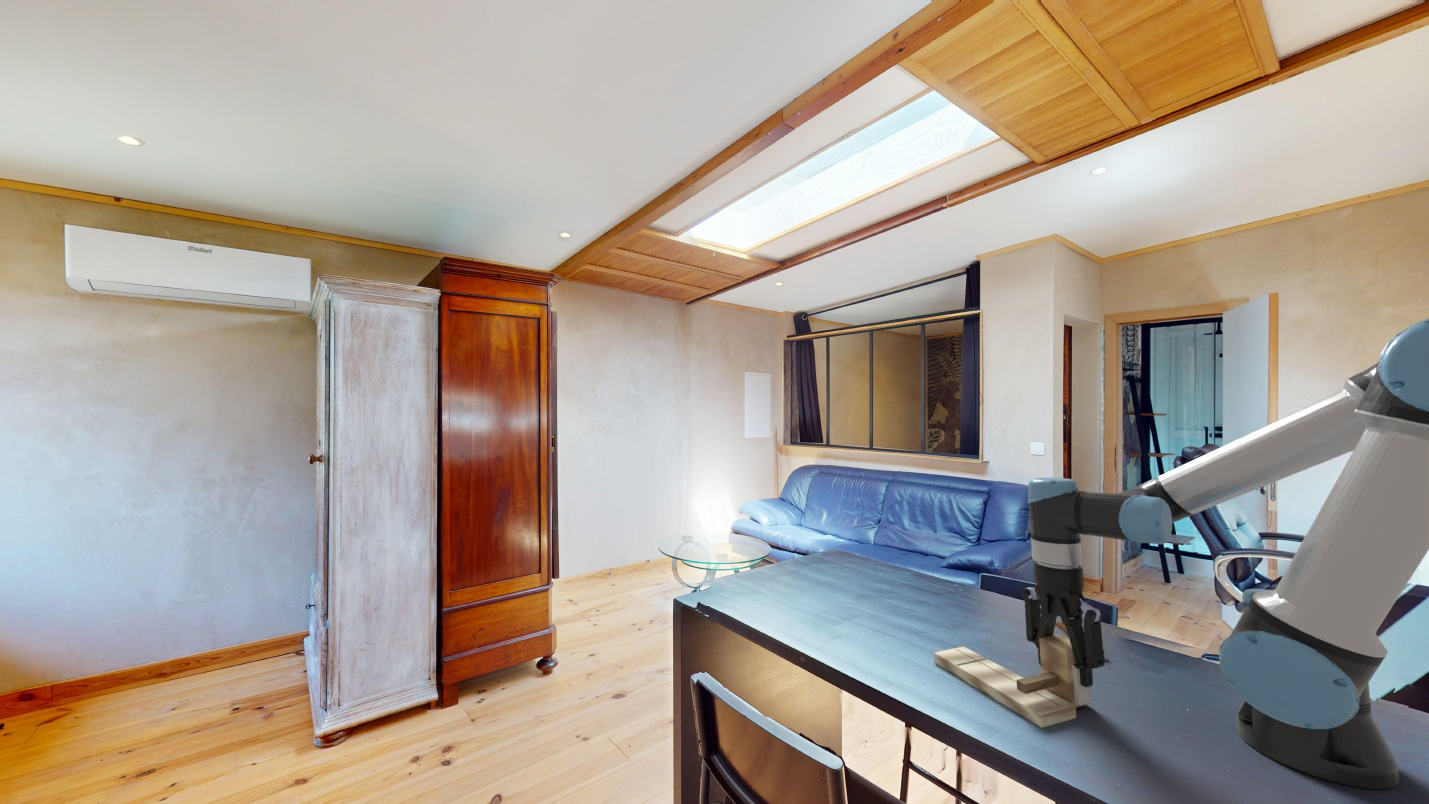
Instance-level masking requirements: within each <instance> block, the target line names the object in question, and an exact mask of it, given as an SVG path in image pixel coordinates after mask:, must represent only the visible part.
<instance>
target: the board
mask: <svg viewBox="0 0 1429 804" xmlns="http://www.w3.org/2000/svg"><path fill="white" fill-rule="evenodd" d="M933 656H934V658H933V660H934V661H933V662H934V663H935V664H937V665H939V666H940V667H942V669H945V670H946V671H947V672H950V673H951V674H953V675H954V676H956V677H958V678H960V679H962V680H963V681H964V682H966V683H968V684H969V685H971V686H972V687H973V688H976V689H977V690H979V691H980V692H982V693H983V694H985V695H987V696H989V697H990V698H992V699H994V700H996V701H997V702H998V703H1000V704H1002V705H1004V706H1005V707H1007V708H1008V709H1010V710H1012V711H1013V712H1015V713H1016V714H1018V715H1020V716H1021V717H1023V718H1025V719H1026V720H1027V721H1030V722H1031V723H1033V724H1035V725H1036V726H1038V727H1039V728H1041V729H1042V728H1046V727H1050V726H1054V725H1057V724H1059V723H1060V724H1061V723H1063V722H1067V721H1071V720H1074V719H1077V707H1076V706H1075V705H1073V704H1071V703H1070V702H1068V701H1066V700H1064V699H1062V698H1060V697H1058V696H1056V695H1055V694H1053V693H1051V692H1049V691H1047V690H1045V689H1043V690H1039V691H1035V692H1031V693H1028V694H1025V693H1023V692H1021V691H1019V690H1017V680H1018V679H1023V678H1024V677H1023V676H1020V675H1019V674H1016V673H1015V672H1013V671H1011V670H1009V669H1008V668H1005V667H1004V666H1001V665H999V664H998V663H996V662H994V661H992V660H990V659H988V658H986V657H984V656H983V655H981V654H979V653H977V652H975V651H973V650H971V649H970V648H968V647H966V646H959V647H954V648H949V649H945V650H940V651H935V652H933Z"/></svg>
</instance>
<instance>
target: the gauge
mask: <svg viewBox="0 0 1429 804" xmlns="http://www.w3.org/2000/svg"><path fill="white" fill-rule="evenodd" d="M1039 642H1040V657H1041V666H1040V668H1041V673H1040V674H1037V675H1031V676H1027V677H1022V678H1023V679H1018V680H1017V690H1019V691H1021V692H1023V693H1025V694H1028V693H1031V692H1035V691H1039V690H1043V689H1045V690H1047V691H1049V692H1051V693H1053V694H1055V695H1056V696H1058V697H1060V698H1062V699H1064V700H1066V701H1068V702H1070V703H1071V704H1073V705H1075V706H1076V708H1079V707H1083V706H1087V705H1091V704H1092V701H1091V696H1090V703H1087V704H1083V705H1080V706H1079V705H1077V704H1075V698H1074V684H1073V670H1072V665H1074V664H1077V663H1076V659H1075V656H1074V653H1073V649H1072V646H1071V643H1070V639H1069V637H1066V636H1064V635H1062V634H1059V633H1058V634H1055V635H1054V634H1053V636H1049V637H1044V638H1039ZM1089 691H1090V692H1091V686H1090V687H1089Z"/></svg>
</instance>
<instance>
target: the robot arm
mask: <svg viewBox="0 0 1429 804" xmlns="http://www.w3.org/2000/svg"><path fill="white" fill-rule="evenodd" d="M1351 452H1352V453H1351ZM1348 453H1351V454H1350V456H1349V459H1348V460H1347V462H1346V464H1345V466H1343V469H1342V471H1341V472H1340V474H1339V476H1338V477H1337V480H1336V481H1335V483H1334V485H1333V487H1332V489H1331V490H1330V492H1329V494H1328V496H1327V497H1326V499H1325V501H1324V503H1323V504H1322V506H1321V508H1320V510H1319V511H1318V513H1317V515H1316V517H1315V518H1314V520H1313V522H1312V524H1311V526H1310V527H1309V529H1308V531H1307V533H1306V535H1305V536H1304V538H1303V540H1302V542H1301V543H1300V545H1299V547H1298V549H1297V550H1296V551H1295V554H1294V556H1293V557H1292V559H1291V561H1290V562H1289V565H1288V566H1287V568H1286V570H1285V572H1284V574H1283V575H1282V577H1281V579H1280V580H1279V582H1278V584H1277V586H1276V587H1275V588H1274V589H1273V590H1272V589H1263V588H1262V589H1261V588H1249V589H1245V590H1244V591H1243V592H1242V596H1241V601H1240V605H1241V607H1242V611H1243V612H1242V614H1241V616H1240V617H1239V619H1238V621H1237V623H1236V625H1235V626H1234V628H1233V629H1232V632H1231V634H1230V635H1228V637H1226V638H1225V639H1224V640H1223V641H1222V643H1221V644H1220V646H1219V651H1218V653H1219V656H1218V661H1219V666H1220V670H1221V673H1222V675H1223V678H1225V680H1226V682H1227V683H1228V685H1229V686H1230V687H1231V689H1233V691H1234V692H1235V693H1236V694H1237V695H1238V696H1239V697H1240V698H1241V699H1242V700H1241V703H1240V706H1239V709H1238V711H1237V714H1236V727H1237V733H1238V734H1239V736H1240V737H1241V738H1242V739H1243V741H1244V742H1245V743H1247V744H1248V745H1250V746H1251V747H1252V748H1254V749H1255V750H1257V751H1258V752H1260V753H1262V754H1264V755H1265V756H1267V757H1269V758H1270V759H1273V760H1274V761H1276V762H1279V763H1281V764H1283V765H1285V766H1287V767H1290V768H1293V769H1294V770H1297V771H1300V772H1302V773H1305V774H1308V775H1310V776H1314V777H1315V778H1316V777H1317V778H1320V779H1323V780H1327V781H1329V782H1333V783H1338V784H1341V785H1346V786H1351V787H1355V788H1362V789H1373V790H1374V789H1375V790H1386V789H1392V788H1395V787H1397V786H1398V785H1399V783H1400V776H1399V775H1400V774H1399V766H1398V763H1397V760H1396V758H1395V755H1393V753H1392V752H1393V751H1391V748H1390V747H1389V746H1388V743H1387V742H1386V740H1385V737H1384V736H1383V734H1382V732H1381V730H1380V728H1379V726H1378V725H1377V723H1376V721H1375V719H1374V717H1373V713H1372V705H1371V704H1372V703H1371V694H1370V693H1371V692H1370V685H1369V684H1370V681H1371V680H1372V678H1373V676H1374V675H1375V673H1376V672H1377V670H1378V669H1379V667H1380V666H1381V664H1382V662H1383V661H1384V659H1385V658H1386V657H1387V655H1388V649H1387V648H1386V647H1385V645H1384V643H1383V642H1382V640H1381V638H1379V636H1378V635H1377V631H1378V629H1379V628H1380V626H1381V625H1382V623H1383V622H1384V620H1385V619H1386V618H1387V615H1388V614H1389V613H1390V611H1391V609H1392V608H1393V606H1394V605H1395V604H1396V602H1397V600H1398V598H1399V597H1400V595H1401V594H1402V593H1403V590H1404V589H1405V588H1406V586H1407V584H1408V583H1409V581H1410V580H1411V579H1412V576H1413V575H1414V574H1415V572H1416V570H1417V569H1418V567H1419V565H1420V564H1421V562H1422V561H1423V559H1424V558H1425V557H1426V556H1427V554H1428V552H1429V318H1427V319H1424V320H1421V321H1419V322H1417V323H1415V324H1412V325H1410V326H1409V327H1407V328H1405V329H1404V330H1402V331H1401V332H1399V333H1397V334H1396V336H1395V337H1394V338H1393V339H1391V340H1390V341H1388V342H1387V343H1386V345H1385V346H1384V347H1383V350H1382V351H1381V352H1380V355H1379V357H1378V362H1377V363H1376V364H1374V365H1371V366H1370V367H1368V368H1366V369H1365V370H1363V371H1361V372H1359V373H1357V374H1355V375H1352V376H1350V377H1349V378H1346V379H1345V381H1344V384H1343V387H1342V389H1341V390H1339V391H1337V392H1335V393H1333V394H1331V395H1329V396H1326V397H1325V398H1323V399H1321V400H1318V401H1315V402H1314V403H1312V404H1310V405H1308V406H1305V407H1303V408H1301V409H1299V410H1297V411H1295V412H1293V413H1290V414H1289V415H1286V416H1284V417H1282V418H1280V419H1278V420H1275V421H1273V422H1272V423H1268V424H1267V425H1265V426H1263V427H1261V428H1259V429H1257V430H1254V431H1252V432H1250V433H1248V434H1245V435H1244V436H1241V437H1239V438H1237V439H1235V440H1233V441H1231V442H1229V443H1226V444H1224V445H1222V446H1221V447H1218V448H1216V449H1214V450H1212V451H1209V452H1207V453H1206V454H1204V455H1201V456H1199V457H1197V458H1194V459H1193V460H1191V461H1189V462H1186V463H1184V464H1182V465H1180V466H1178V467H1176V468H1173V469H1171V470H1169V471H1167V472H1165V473H1163V474H1160V475H1159V476H1157V477H1155V478H1152V479H1150V480H1147V481H1146V482H1144V483H1141V484H1139V485H1137V486H1135V487H1133V488H1130V489H1127V490H1123V491H1120V492H1116V493H1109V492H1089V491H1084V490H1079V488H1078V487H1079V486H1077V482H1076V481H1075V480H1074V479H1072V478H1065V477H1036V478H1032V479H1031V480H1030V481H1029V482H1028V485H1027V486H1028V488H1027V489H1028V497H1027V498H1028V500H1027V504H1028V512H1029V513H1028V514H1029V523H1030V525H1029V526H1030V540H1031V541H1030V543H1031V559H1032V560H1034V561H1033V563H1032V573H1033V580H1034V582H1035V583H1036V585H1035V586H1030V587H1025V588H1024V587H1023V588H1021V589H1020V592H1021V594H1022V597H1023V600H1024V610H1025V612H1024V613H1025V617H1024V618H1025V632H1026V636H1025V637H1026V639H1027V640H1026V641H1028V642H1030V643H1032V644H1034V645H1035V646H1036V648H1037V656H1038V664H1039V666H1040V667H1041V657H1040V642H1039V638H1044V637H1049V636H1053V635H1054V634H1055V633H1054V632H1055V628H1056V625H1055V624H1056V622H1057V618H1058V617H1060V619H1061V623H1063V624H1064V625H1065V626H1066V629H1067V632H1068V635H1067V636H1068V638H1069V639H1070V643H1071V646H1072V649H1073V653H1074V656H1075V659H1076V663H1077V664H1074V665H1072V670H1073V684H1074V698H1075V704H1077V705H1079V706H1080V705H1083V704H1087V703H1090V697H1091V690H1090V691H1089V687H1090V688H1091V687H1093V685H1094V681H1093V680H1094V679H1093V670H1094V669H1099V668H1102V667H1105V656H1104V655H1105V653H1103V650H1104V644H1103V643H1104V642H1103V633H1102V619H1103V616H1104V611H1103V609H1102V608H1099V607H1098V608H1097V607H1096V608H1094V607H1093V606H1092V605H1090V604H1089V603H1087V601H1086V598H1085V597H1084V594H1083V590H1084V588H1085V578H1084V569H1083V567H1082V566H1081V565H1082V564H1083V558H1082V557H1083V556H1082V537H1081V535H1085V536H1094V537H1101V538H1107V539H1114V540H1121V541H1126V542H1133V543H1135V544H1154V545H1163V544H1166V543H1167V542H1169V540H1170V538H1171V537H1170V536H1171V535H1172V532H1173V524H1174V523H1176V522H1179V521H1181V520H1183V519H1186V518H1189V517H1191V516H1193V515H1195V514H1197V513H1200V512H1203V511H1205V510H1208V509H1210V508H1213V507H1215V506H1218V505H1220V504H1222V503H1225V502H1228V501H1230V500H1232V499H1235V498H1238V497H1240V496H1242V495H1245V494H1248V493H1250V492H1253V491H1255V490H1259V489H1261V488H1263V487H1266V486H1268V485H1270V484H1274V483H1275V482H1277V481H1281V480H1283V479H1285V478H1288V477H1290V476H1292V475H1293V476H1294V475H1295V474H1298V473H1301V472H1302V471H1303V472H1304V471H1307V470H1308V469H1311V468H1313V467H1315V466H1318V465H1321V464H1324V463H1326V462H1328V461H1331V460H1333V459H1335V458H1338V457H1340V456H1341V457H1342V456H1343V455H1345V454H1348ZM1081 611H1082V614H1081ZM1087 705H1088V704H1087ZM1080 707H1081V706H1080Z"/></svg>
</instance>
